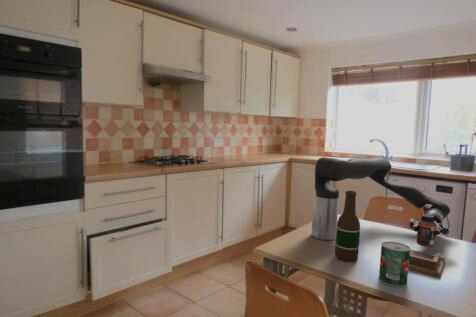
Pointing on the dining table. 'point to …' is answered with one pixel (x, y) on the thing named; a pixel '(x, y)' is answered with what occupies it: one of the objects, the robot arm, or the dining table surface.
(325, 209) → the robot arm
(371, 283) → the dining table surface
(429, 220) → the supplement bottle
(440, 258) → the walnut dock
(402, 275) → the canned tomato
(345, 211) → the beer bottle
